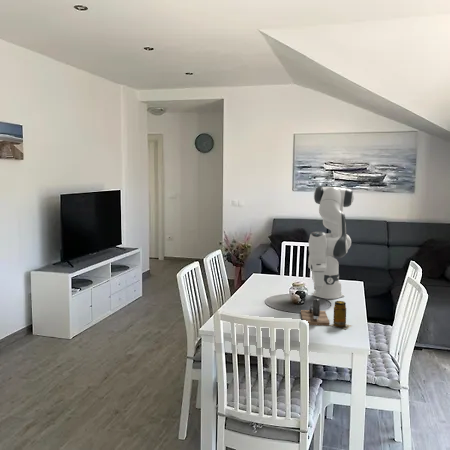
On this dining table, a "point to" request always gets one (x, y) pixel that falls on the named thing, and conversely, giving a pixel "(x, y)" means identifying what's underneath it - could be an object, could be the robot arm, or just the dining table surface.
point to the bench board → (320, 321)
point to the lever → (315, 308)
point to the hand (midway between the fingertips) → (316, 291)
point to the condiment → (340, 315)
